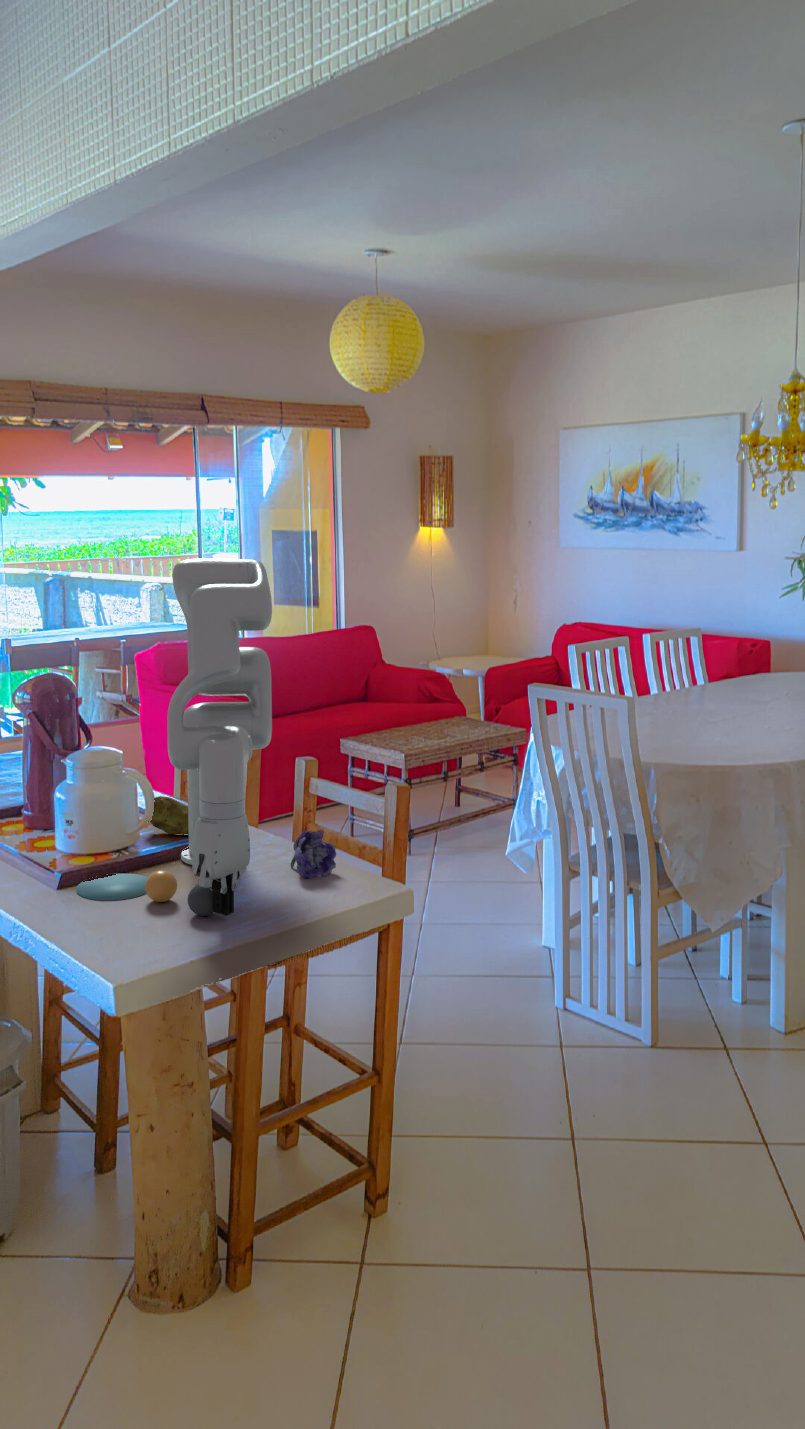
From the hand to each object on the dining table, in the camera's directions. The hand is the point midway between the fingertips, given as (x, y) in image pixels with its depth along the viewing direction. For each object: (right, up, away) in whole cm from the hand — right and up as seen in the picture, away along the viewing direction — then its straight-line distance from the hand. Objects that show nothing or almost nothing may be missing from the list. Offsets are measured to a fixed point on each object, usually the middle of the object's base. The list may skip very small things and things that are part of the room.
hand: (223, 912), depth 182 cm
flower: (+12, +3, +25) cm, 28 cm away
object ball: (-12, +3, +8) cm, 15 cm away
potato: (-19, +8, +49) cm, 53 cm away
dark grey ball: (-4, +2, +2) cm, 5 cm away
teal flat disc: (-22, +2, +15) cm, 27 cm away
